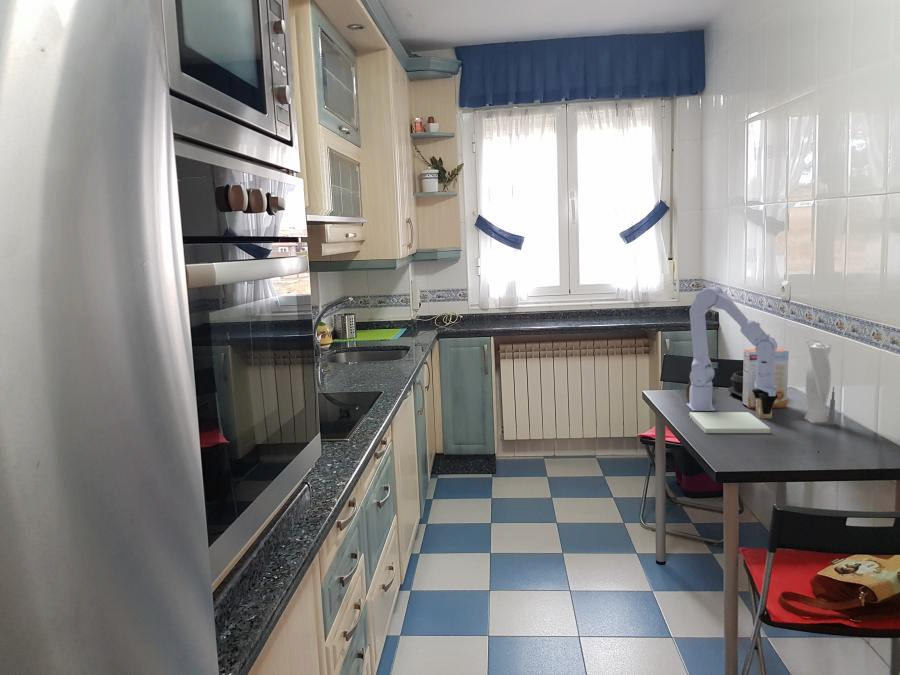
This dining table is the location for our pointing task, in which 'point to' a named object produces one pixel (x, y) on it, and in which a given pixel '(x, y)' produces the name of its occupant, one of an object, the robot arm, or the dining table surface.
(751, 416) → the board
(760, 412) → the pine block
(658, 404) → the dining table surface
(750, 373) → the cracker box
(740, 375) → the casserole
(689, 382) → the tin
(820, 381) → the skyscraper
